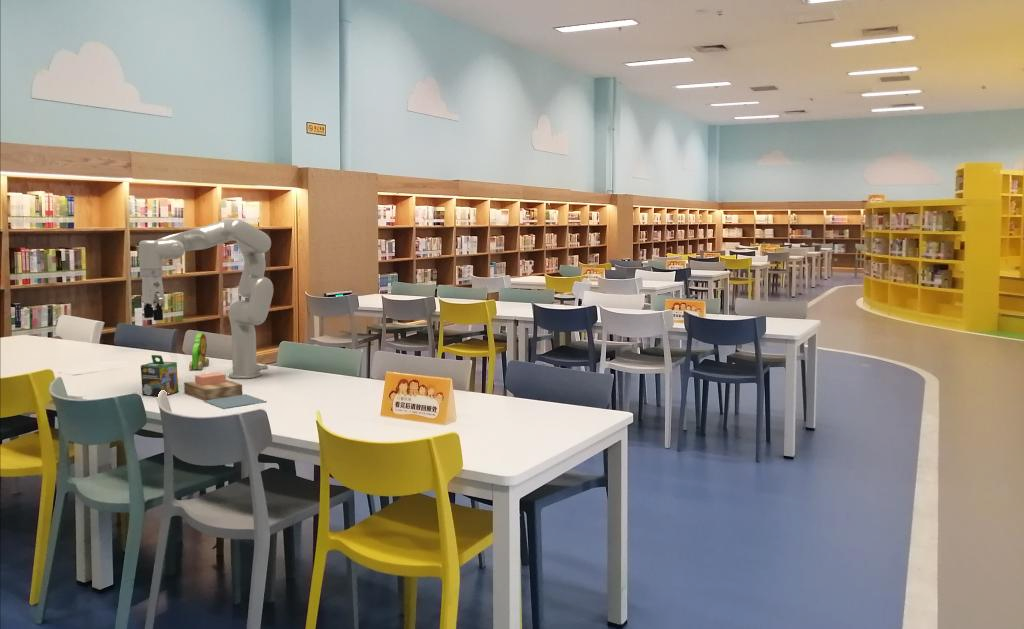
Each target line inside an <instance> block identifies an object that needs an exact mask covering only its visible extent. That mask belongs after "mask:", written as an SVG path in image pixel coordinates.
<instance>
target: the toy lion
mask: <svg viewBox="0 0 1024 629" xmlns="http://www.w3.org/2000/svg"><path fill="white" fill-rule="evenodd" d="M207 347H208V346H207V337H206V335H205V333H203V332H197V333H196V335H195V339H194V344H193V346H192V349H191V361H189V363H188V364H189V365H188V368H189V370H190V371H193V370H195V369H198V370H199V371H203V368H204V366H205V367H209V365H210V359H209V358H207V357H206V355H207V354H206V353H207Z"/></svg>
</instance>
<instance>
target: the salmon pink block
mask: <svg viewBox="0 0 1024 629" xmlns="http://www.w3.org/2000/svg"><path fill="white" fill-rule="evenodd" d="M226 380H227V376H226V374H225V373H222V372H212V373H210V372H209V373H203V374H196V375H194V381H195V383H196V384H199V385H202V386H204V385H211V384H218V383H225V382H226Z"/></svg>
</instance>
